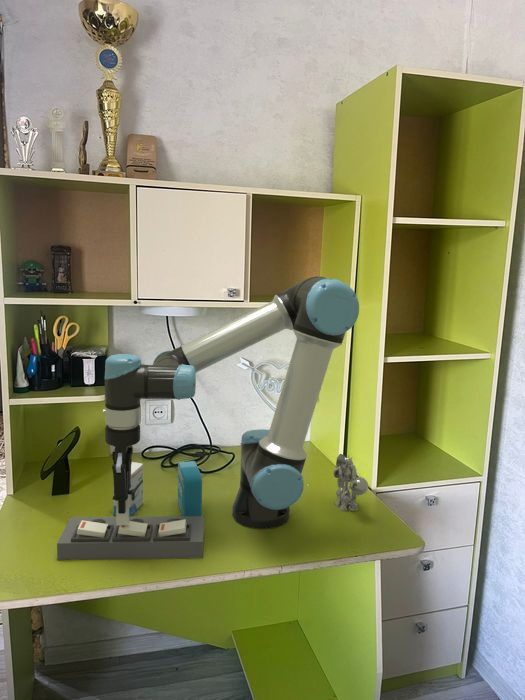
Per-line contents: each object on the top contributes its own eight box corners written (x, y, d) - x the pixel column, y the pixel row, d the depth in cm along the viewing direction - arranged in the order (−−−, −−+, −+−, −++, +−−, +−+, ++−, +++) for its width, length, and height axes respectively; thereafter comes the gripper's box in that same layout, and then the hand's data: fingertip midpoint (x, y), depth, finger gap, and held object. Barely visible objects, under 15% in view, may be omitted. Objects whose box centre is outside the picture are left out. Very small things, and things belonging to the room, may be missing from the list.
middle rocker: (146, 528, 128) (147, 523, 128) (144, 537, 125) (145, 532, 124) (120, 524, 128) (121, 519, 127) (117, 533, 124) (118, 528, 124)
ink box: (130, 517, 142) (130, 474, 140) (112, 515, 143) (112, 472, 141) (144, 503, 150) (144, 462, 148) (127, 501, 151) (126, 460, 149)
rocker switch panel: (203, 531, 137) (203, 513, 136) (202, 557, 125) (203, 538, 124) (71, 532, 134) (70, 514, 133) (57, 560, 122) (56, 540, 121)
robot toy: (371, 520, 146) (375, 466, 143) (350, 522, 144) (354, 468, 141) (346, 495, 159) (350, 446, 157) (327, 498, 158) (330, 448, 155)
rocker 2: (186, 523, 129) (185, 518, 129) (185, 532, 125) (184, 527, 125) (161, 528, 129) (160, 523, 128) (159, 537, 125) (158, 531, 125)
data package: (177, 501, 152) (177, 460, 150) (193, 499, 154) (194, 459, 151) (184, 522, 141) (184, 478, 139) (201, 520, 142) (202, 476, 140)
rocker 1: (107, 528, 128) (108, 523, 127) (103, 537, 124) (104, 532, 123) (80, 524, 127) (81, 519, 127) (76, 533, 123) (77, 528, 123)
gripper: (110, 415, 127) (111, 510, 132) (99, 434, 115) (100, 538, 119) (143, 416, 128) (143, 510, 132) (136, 434, 115) (135, 538, 120)
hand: (122, 523), depth 126 cm, fingers closed
